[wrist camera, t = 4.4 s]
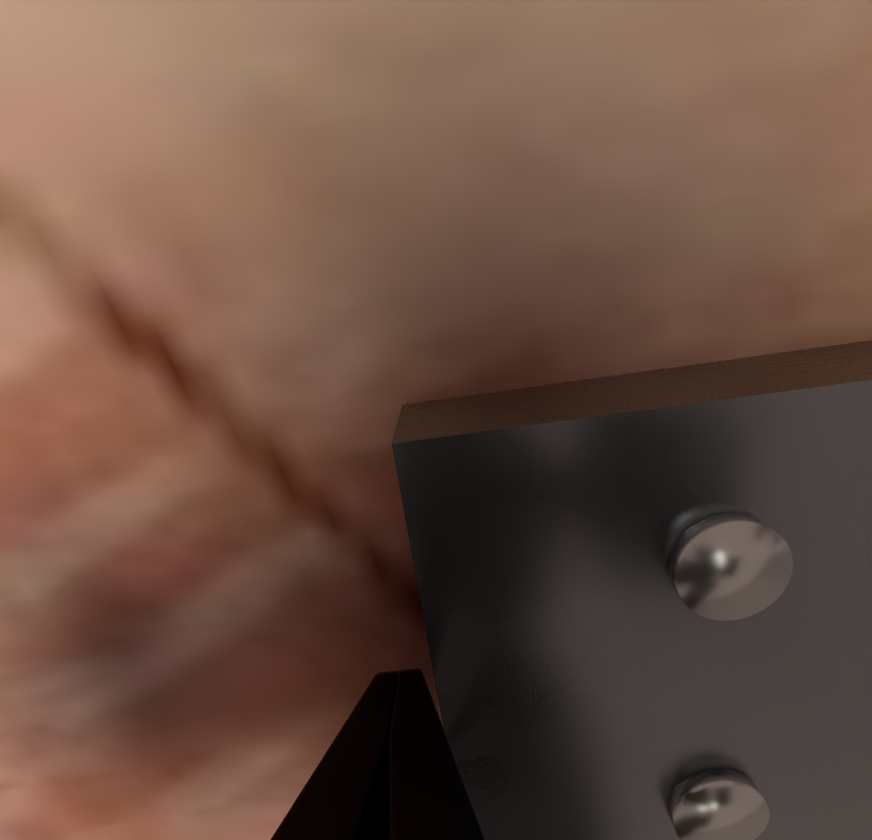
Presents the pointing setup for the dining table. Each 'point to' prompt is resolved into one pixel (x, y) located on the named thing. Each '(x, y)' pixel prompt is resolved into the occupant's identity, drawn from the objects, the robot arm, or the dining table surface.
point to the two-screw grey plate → (654, 598)
